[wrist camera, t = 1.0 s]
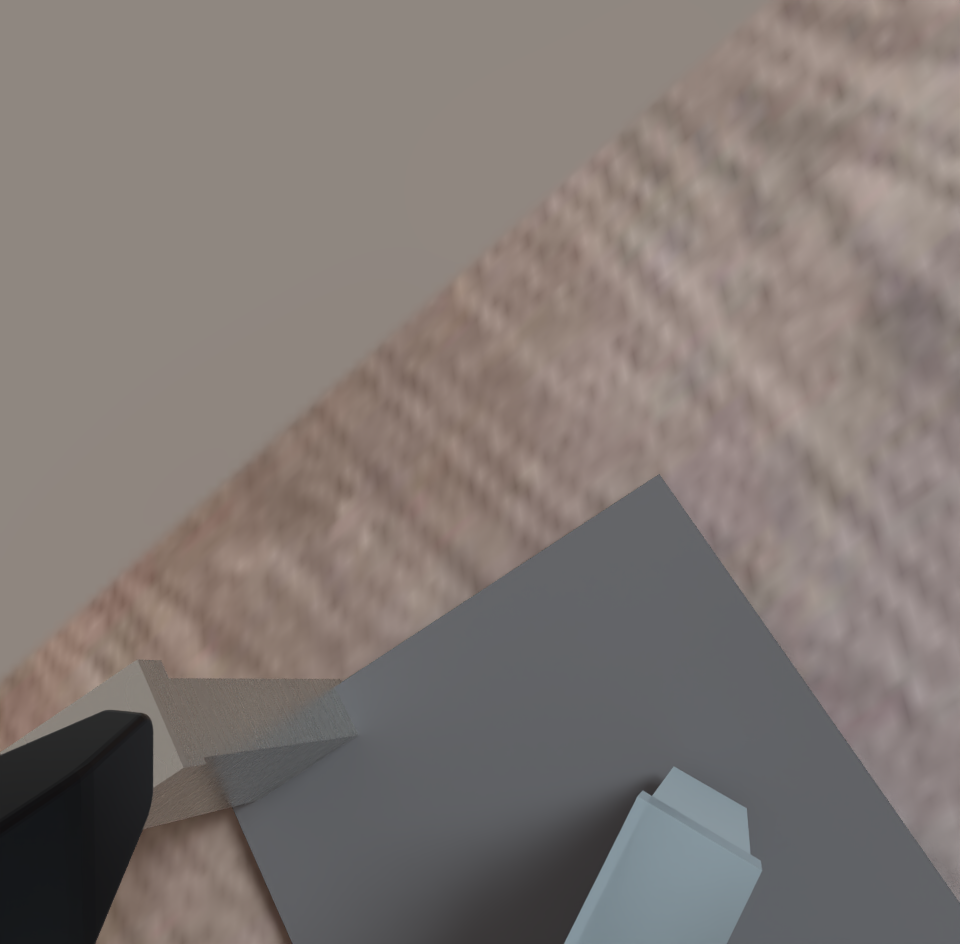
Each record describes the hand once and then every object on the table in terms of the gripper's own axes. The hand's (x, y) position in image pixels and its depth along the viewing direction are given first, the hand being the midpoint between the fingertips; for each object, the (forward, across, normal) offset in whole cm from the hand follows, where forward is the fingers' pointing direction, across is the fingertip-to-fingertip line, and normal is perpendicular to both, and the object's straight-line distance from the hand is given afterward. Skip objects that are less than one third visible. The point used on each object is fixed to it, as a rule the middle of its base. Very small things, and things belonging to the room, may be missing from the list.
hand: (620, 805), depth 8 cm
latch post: (+11, +5, +6) cm, 14 cm away
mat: (+8, -1, +8) cm, 11 cm away
